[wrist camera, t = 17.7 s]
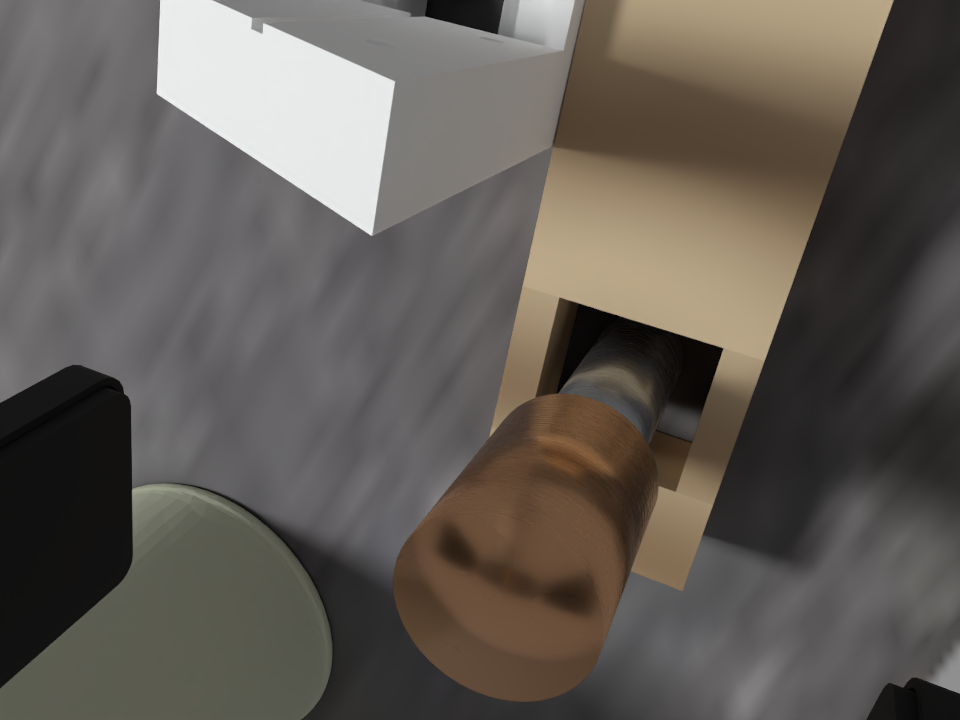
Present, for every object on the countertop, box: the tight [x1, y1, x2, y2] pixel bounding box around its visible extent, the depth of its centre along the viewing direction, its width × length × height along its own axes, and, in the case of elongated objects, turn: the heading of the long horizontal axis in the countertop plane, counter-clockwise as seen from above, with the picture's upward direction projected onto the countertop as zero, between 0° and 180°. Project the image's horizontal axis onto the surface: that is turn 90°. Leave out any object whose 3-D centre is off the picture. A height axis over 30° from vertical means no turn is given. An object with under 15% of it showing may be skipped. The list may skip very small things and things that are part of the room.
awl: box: [393, 317, 684, 702], centre depth 17 cm, size 3×3×10 cm
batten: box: [489, 0, 894, 591], centre depth 19 cm, size 14×5×2 cm, turn 169°
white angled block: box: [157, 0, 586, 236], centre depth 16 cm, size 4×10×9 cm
